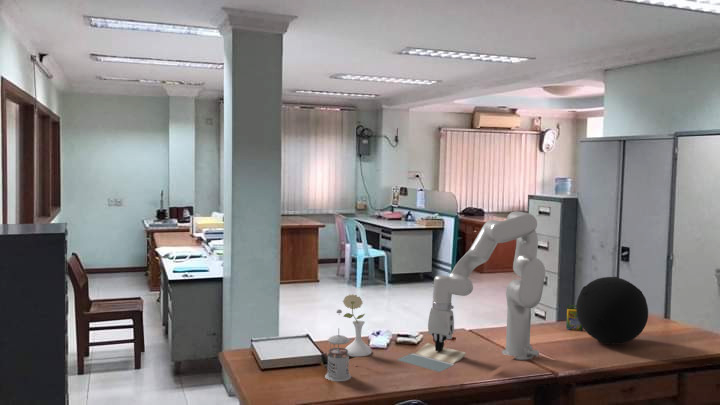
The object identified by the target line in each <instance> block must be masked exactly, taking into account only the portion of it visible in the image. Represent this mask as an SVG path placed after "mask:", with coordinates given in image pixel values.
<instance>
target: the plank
mask: <svg viewBox="0 0 720 405" xmlns="http://www.w3.org/2000/svg"><path fill="white" fill-rule="evenodd" d="M435 349H436V348H435V344H432V343H429V342H427V343H426V344H424V345H423V346H422V347H420V348H419V349H418V350H417V351H416V352H414V353H413V354H417V355H420V356H424V357H428V358H432V359H436V360H440V361H443V362H447V363H451V364H455V363H457V362H460V361H461V360H462V359H463V358H464V357H465V356H466V352H464V351H461V350H458V349H457V350H456V349H453V348H448V347H445V346H444V347H443V350H442V351H440V352H438V351H435Z"/></svg>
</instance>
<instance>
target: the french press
mask: <svg viewBox="0 0 720 405" xmlns="http://www.w3.org/2000/svg"><path fill="white" fill-rule="evenodd" d="M342 312H343V311H342V309H337V310H336V314H342ZM337 330H338V334H336V335H332V336H330V337H329V338H327V342H329V347H331V346H332V345H333V348H329V349H328V354H327V372H326V374H325V375H324V379H326V380H327V379H328V381H330V380H331V382H346V381H348V380H350V379H351V378H352V375H351V374H350V368H349V367H350V356H349V354H348V353H347V352H348V350H347V349H345V348H346V347H345V348H344V347H340V345H345V344H349V342H350V340H351V339H350V338H348V337H347V336H345V335H341V334H340V329H337ZM336 345H337V347H335V346H336Z"/></svg>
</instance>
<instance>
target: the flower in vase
mask: <svg viewBox="0 0 720 405" xmlns="http://www.w3.org/2000/svg"><path fill="white" fill-rule="evenodd" d="M342 302H343V305H344V307H346V308H347V309H351V313H352V314H351V313H349V312H346V313H345V314H344V315H343V316H342V317H343V318H347V319H351V318H352V317H353V318H354V319H355V320H353V321H352V324H353V326H354V329H355V338H354V340H353V341H352V342H351V343H348V345H347V346H346V347H345V349H347V350H348V352H347V353H348V354H349V357H352V358H357V357H367V356H369V355H372V352H373V350H372V348H371V347H370V346H369V345H368V344H366V342H364V340H362V329H363V326H364V324H365V321H363V320H359V319H362V318H363V317H364V316H365V315H366V313H362V314H359V315H358V316H357V317H356V316H355V315H354V310H355V309H356V310H357V309H359V308H361V307H362V306H363V302H364V301H363V300H362V298H361V297H360V296H358V295H357V294H352V293H351V294H348V295H346V296H345V297H344V298H343V300H342Z"/></svg>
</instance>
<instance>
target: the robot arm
mask: <svg viewBox="0 0 720 405" xmlns="http://www.w3.org/2000/svg"><path fill="white" fill-rule="evenodd" d="M537 228H538V221H537V218H536V217H535V215H533V214H531V213H528V212H524V211H520V210H519V211H518V210H517V211H516V210H514V211H511V212H510V213H509V214H507V217H506V219H505V220H494V219H490V220H487V221H486V222H485V223H484V224H483V225H482V227H481V229H480V230H479V232H478V234H477V236H476V237H475V239H474V241H473V242H472V244H471V246H470V248H469V249H468V251H466V252H465V254H464V255H463V256H462V257H461V258H460V259H459V260H458V261H457V263H455V265H454V267H453V269H452V270H451V272H450V275H442V274H441V275H440V274H439V275H436V276H435V277H434V278H433V289H432V290H433V292H432V305H431V306H432V307H431V308H430V311H429V316H428V321H427V322H428V323H427V329H428V332H427V333H428V334H429V335H430V336H432V338H433V339H434V340H433V341H435V344H434V345H435V348H436V349H435V351H438V352H440V351H442V350H443V347H445V346H444V344H445V343H444V342H445V341H446V340H452V339H453V334H454V333H455V317H454V316H455V315H454V311H453V309H455V307H454V305H453V304H452V298H453V296H454V295H455V296H459V297H467V296H469V295H470V294H471V293H472V292H473V291H474V284H473V283H472V281H471V280H470V279H469V277H470V275H471V274H472V272H473V271H474V270H475V269H476V268H477V267H479V266H480V265H482V264H485V263H487V262H488V261H489V259H490V258H491V255H492V254H493V253H494V251H495V248H496V247H497V245H498V244H503V243H507V242H511V241H515V240H516V245H515V253H514V259H513V263H512V264H513V265H512V270H513V272H514V274H516V275H517V276H518V277H520V279H513V280H512V281H510V282H509V283H508V285H507V287H506V289H505V296H506V308H507V309H506V310H507V311H506V312H507V313H506V334H505V335H506V336H505V337H506V339H505V349H503V350H501V354H503V355H506V356H511V357H514V358H513V360H516V361H517V360H518V361H527V360H528V361H529V360H531V359H533V358H534V357H539V355H540V351H539V350H538V349H533V345H531V323H532V322H531V321H532V320H531V319H532V310H531V309H534V308H535V307H537V306H538V305H539V303H540V301H541V299H542V296H543V290H544V284H545V278H546V268H545V264H544V263H543V262H542V260H540V259H539V258H538V257H537V255H538V254H537V253H538V248H539V238H538V234H537V231H536V230H537ZM452 295H453V296H452Z"/></svg>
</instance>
